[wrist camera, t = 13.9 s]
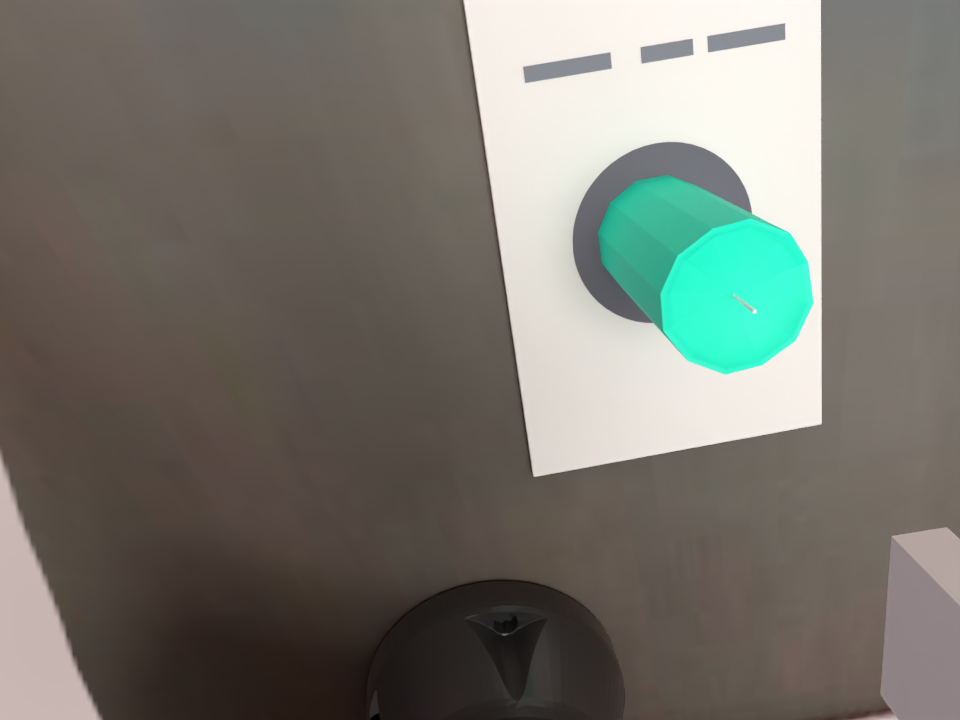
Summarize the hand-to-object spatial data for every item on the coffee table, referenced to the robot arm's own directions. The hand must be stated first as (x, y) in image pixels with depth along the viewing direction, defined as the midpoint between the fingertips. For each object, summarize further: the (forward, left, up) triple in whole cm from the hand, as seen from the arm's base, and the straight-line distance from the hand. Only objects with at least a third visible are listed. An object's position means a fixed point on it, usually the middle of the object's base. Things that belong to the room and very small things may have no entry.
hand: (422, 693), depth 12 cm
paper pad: (+9, -9, -32) cm, 34 cm away
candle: (+9, -9, -31) cm, 34 cm away
